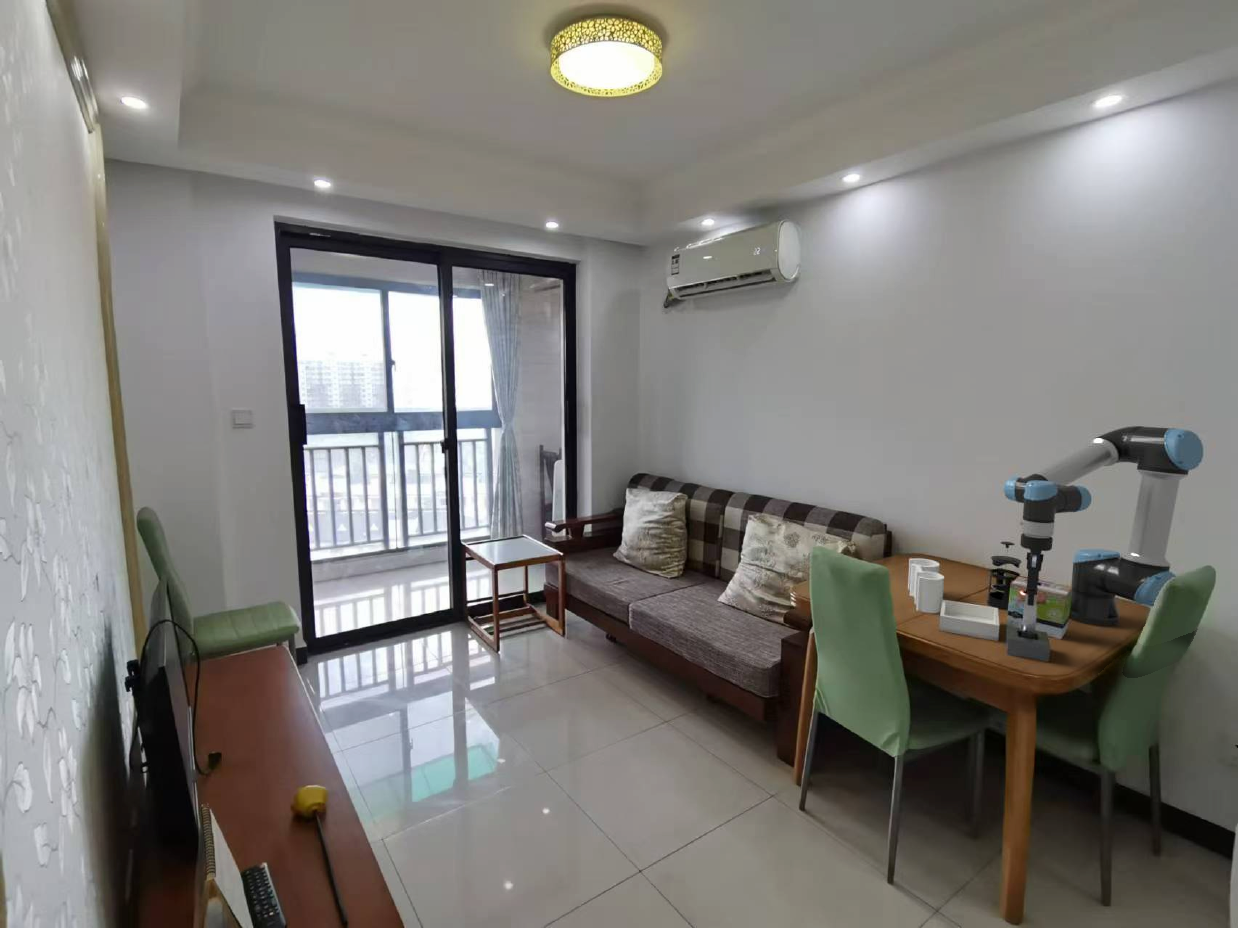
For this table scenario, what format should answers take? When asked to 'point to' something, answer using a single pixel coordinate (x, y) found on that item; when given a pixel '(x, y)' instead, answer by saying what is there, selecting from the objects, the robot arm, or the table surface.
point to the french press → (1002, 590)
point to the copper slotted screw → (1028, 621)
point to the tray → (969, 620)
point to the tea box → (1042, 608)
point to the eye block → (1027, 644)
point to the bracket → (926, 585)
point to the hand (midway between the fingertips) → (1030, 610)
